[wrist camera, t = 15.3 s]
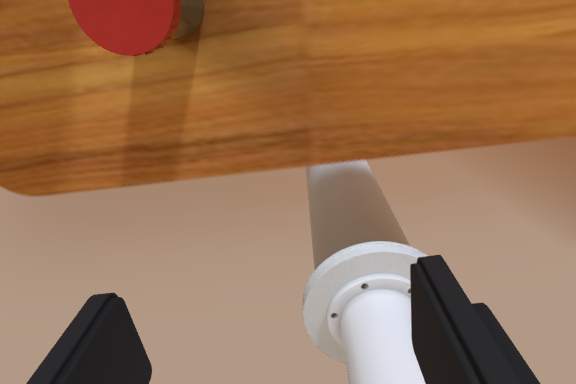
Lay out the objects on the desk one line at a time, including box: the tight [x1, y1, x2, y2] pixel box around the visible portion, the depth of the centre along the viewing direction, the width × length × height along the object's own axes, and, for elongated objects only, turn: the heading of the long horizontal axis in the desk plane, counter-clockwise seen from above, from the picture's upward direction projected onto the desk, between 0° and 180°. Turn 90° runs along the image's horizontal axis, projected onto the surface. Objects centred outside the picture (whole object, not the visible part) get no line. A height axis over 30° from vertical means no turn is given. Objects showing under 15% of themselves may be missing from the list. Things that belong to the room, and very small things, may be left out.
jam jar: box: [169, 0, 204, 41], centre depth 29 cm, size 6×6×11 cm
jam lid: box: [68, 0, 182, 56], centre depth 25 cm, size 7×7×2 cm
